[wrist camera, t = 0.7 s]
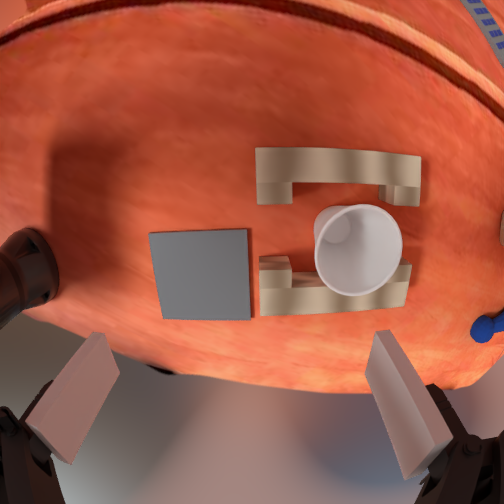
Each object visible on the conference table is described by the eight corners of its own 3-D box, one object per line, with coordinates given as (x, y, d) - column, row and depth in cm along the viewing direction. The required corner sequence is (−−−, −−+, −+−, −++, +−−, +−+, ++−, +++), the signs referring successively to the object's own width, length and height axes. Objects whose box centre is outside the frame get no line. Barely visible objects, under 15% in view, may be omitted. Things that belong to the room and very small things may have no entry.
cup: (376, 240, 37) (412, 268, 26) (318, 272, 39) (337, 312, 28) (349, 178, 34) (384, 187, 24) (286, 212, 36) (297, 234, 26)
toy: (509, 297, 41) (472, 316, 41) (525, 308, 35) (488, 331, 36) (503, 320, 43) (465, 341, 44) (517, 332, 37) (480, 357, 38)
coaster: (164, 316, 42) (163, 318, 41) (149, 232, 37) (148, 233, 37) (250, 318, 41) (250, 320, 41) (247, 228, 37) (246, 229, 36)
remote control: (458, -20, 18) (463, -23, 16) (515, 66, 23) (521, 64, 21) (441, -20, 19) (446, -24, 17) (502, 72, 25) (509, 70, 23)
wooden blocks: (260, 298, 40) (260, 315, 35) (255, 149, 34) (255, 147, 29) (390, 291, 39) (403, 306, 35) (403, 156, 33) (421, 156, 28)
